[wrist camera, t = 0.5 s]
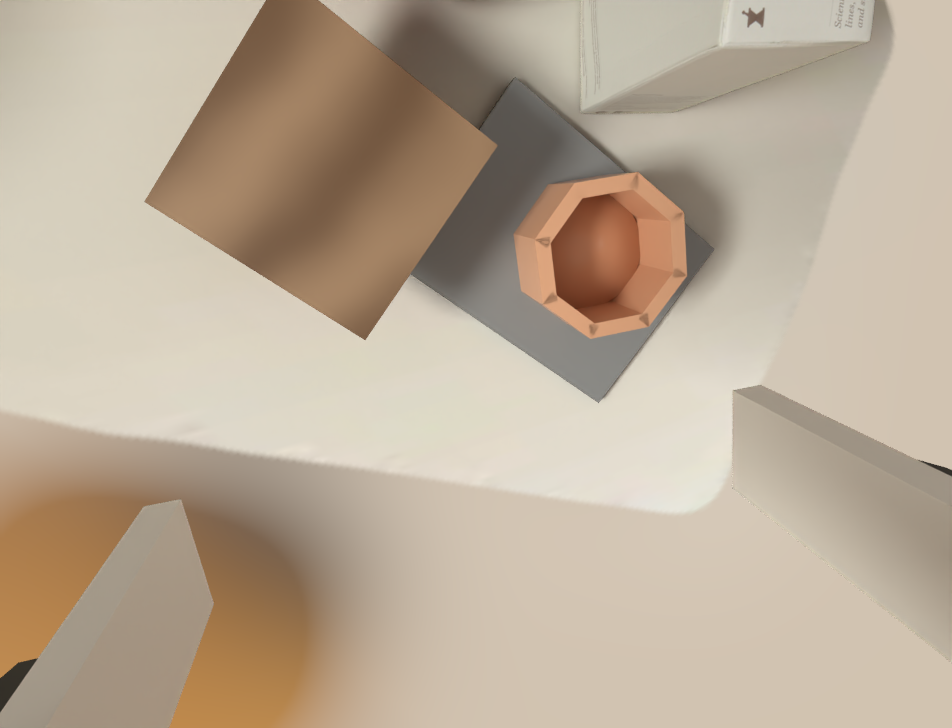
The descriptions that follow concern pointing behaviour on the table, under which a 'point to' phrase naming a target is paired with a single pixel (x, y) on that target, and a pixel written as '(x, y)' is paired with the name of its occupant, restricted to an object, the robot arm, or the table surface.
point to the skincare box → (704, 47)
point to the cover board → (321, 164)
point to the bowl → (602, 252)
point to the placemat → (493, 248)
